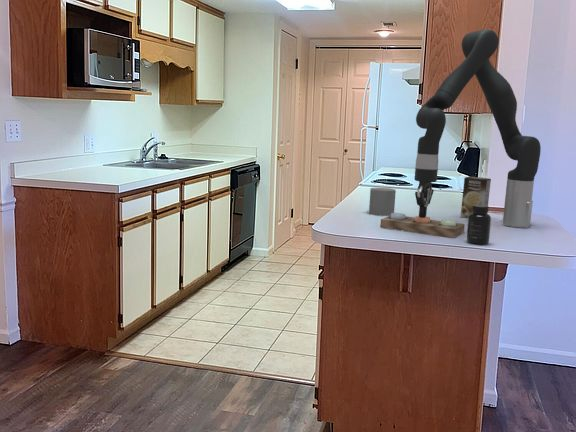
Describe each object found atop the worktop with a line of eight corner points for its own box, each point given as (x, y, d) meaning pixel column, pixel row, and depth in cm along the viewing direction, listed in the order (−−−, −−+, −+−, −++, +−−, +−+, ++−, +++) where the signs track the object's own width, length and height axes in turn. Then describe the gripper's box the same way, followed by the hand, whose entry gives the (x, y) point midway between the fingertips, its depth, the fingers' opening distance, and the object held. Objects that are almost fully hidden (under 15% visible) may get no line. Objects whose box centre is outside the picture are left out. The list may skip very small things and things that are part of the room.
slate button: (406, 222, 207) (407, 214, 206) (401, 224, 202) (402, 215, 202) (393, 220, 209) (394, 212, 209) (388, 222, 205) (388, 214, 204)
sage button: (457, 229, 197) (457, 220, 197) (453, 231, 193) (453, 222, 193) (442, 227, 200) (443, 218, 199) (438, 229, 196) (439, 220, 195)
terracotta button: (431, 225, 202) (432, 217, 201) (426, 227, 198) (427, 219, 197) (417, 223, 204) (418, 215, 204) (412, 225, 200) (413, 217, 200)
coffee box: (459, 217, 230) (463, 177, 227) (464, 215, 235) (468, 176, 232) (482, 220, 225) (486, 179, 222) (487, 218, 230) (491, 178, 227)
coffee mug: (396, 216, 227) (398, 191, 225) (371, 215, 227) (372, 190, 225) (389, 210, 240) (391, 186, 238) (365, 209, 240) (367, 186, 238)
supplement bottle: (471, 239, 189) (474, 203, 187) (492, 243, 184) (495, 205, 182) (462, 242, 183) (466, 205, 181) (483, 246, 179) (487, 208, 177)
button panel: (463, 232, 200) (464, 223, 199) (454, 238, 190) (454, 229, 189) (393, 222, 213) (393, 214, 213) (380, 227, 203) (380, 219, 202)
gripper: (431, 169, 190) (426, 221, 193) (443, 167, 201) (438, 216, 204) (409, 167, 194) (405, 218, 197) (422, 165, 205) (418, 213, 208)
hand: (422, 217), depth 201 cm, fingers closed
